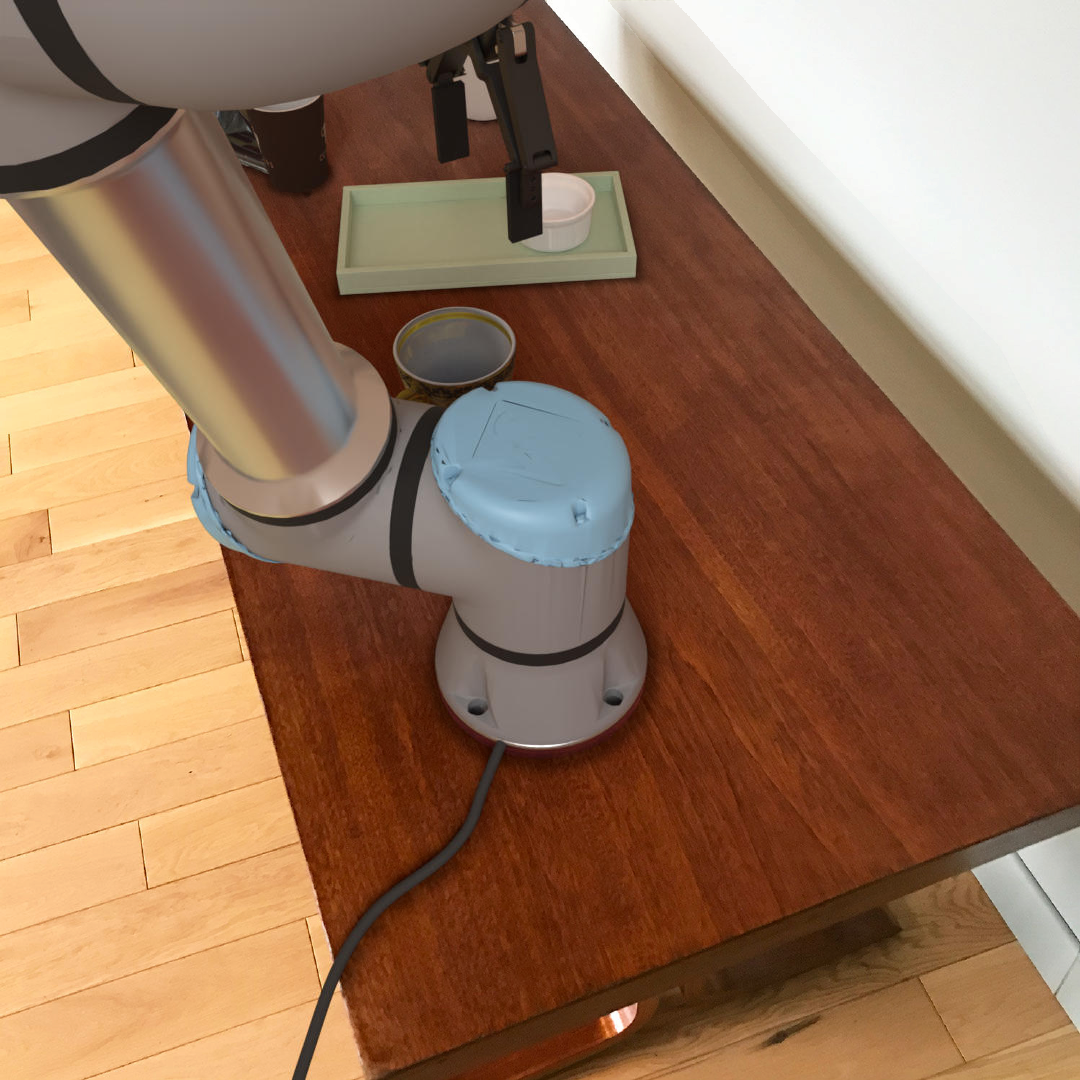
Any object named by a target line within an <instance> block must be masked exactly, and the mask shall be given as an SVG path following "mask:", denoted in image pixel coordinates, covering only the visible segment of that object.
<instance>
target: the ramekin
mask: <svg viewBox="0 0 1080 1080" xmlns="http://www.w3.org/2000/svg"><path fill="white" fill-rule="evenodd" d="M570 174H571V173H564V172H544V173H542V219H543V234H542V235H539V236H535V237H532V238H529V239H526V240H523V241H520V242H521V243H522V244H523V245H525V246H526V247H528V248H530V249H533V250H536V251H540V252H549V253H555V252H562V251H567V250H570V249H573V248H575V247H577V246H579V245H580V244H582V243H583V242H584V241H585V240H586V239H587V237H588V235H589V233H590V229H591V220H592V209H593V206H594V203H595V192H594V189H593V188H592V186H591V185H590V184H589V183H588V182H586V181H585V180H583V179H581V178H579V177H577V176H574V175H570Z"/></svg>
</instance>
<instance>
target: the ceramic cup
mask: <svg viewBox="0 0 1080 1080" xmlns="http://www.w3.org/2000/svg"><path fill="white" fill-rule="evenodd" d="M393 341H394V342H393V345H392V355H393V359H394V362H395V365H396V368H397V371H398V373H399V377H400V380H401V381H402V384H403V386H404V388H405V389H403V390H402V391H400V392H399V393H398V395H397V396H396V397H395V398H396V399H402V400H408V401H413V402H419V403H425V404H430V405H436V406H440V407H446V408H448V407H449V406H450V405H451V404H452V403H453V402H454V401H455V400H457V399H458V398H460V397H461V396H462V395H464V394H466V393H468V392H470V391H471V390H474V389H476V388H480V387H483V388H485V389H486V390H488V391H492V390H493V389H494V387H495V385H496V384H497V383H499V382H507V381H513V376H514V370H515V364H516V353H517V338H516V335H515V332H514V331H513V328H512V327H511V325H509V323H507V322H506V321H505V320H504V319H503V318H501V317H500V316H498V315H496V314H494V313H492V312H489V311H488V310H484V309H481V308H477V307H470V306H469V307H468V306H449V307H442V308H438V309H433V310H430V311H428V312H425V313H422V314H420V315H418V316H416V317H414V318H413V319H411V320H410V321H408V322H407V323H406V324H405V325H404V326H403V327H402V328H401V329H400V330H399V331H398V333H397V335H396V337H395V339H394V340H393Z"/></svg>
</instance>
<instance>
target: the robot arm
mask: <svg viewBox="0 0 1080 1080" xmlns="http://www.w3.org/2000/svg"><path fill="white" fill-rule="evenodd" d="M528 1H529V0H0V200H5V201H6V202H7V203H8V205H9V206H10V207H11V208H12V209H13V210H14V212H16V214H17V215H18V216H19V217H20V218H21V220H22V221H23V223H24V224H25V225H26V226H27V227H28V228H29V229H30V230H31V231H32V233H33V234H34V235H35V236H36V238H37V239H38V240H39V242H41V243H42V245H43V246H44V247H45V248H46V249H47V250H48V252H49V253H50V255H51V256H52V257H53V258H54V259H55V260H56V261H57V262H58V264H59V265H60V266H61V268H62V269H63V270H64V271H65V272H66V273H67V274H68V276H69V277H70V278H71V280H73V281H74V283H75V284H76V285H77V286H78V287H79V289H80V290H81V291H82V292H83V294H84V295H85V296H86V297H87V298H88V299H89V301H90V302H91V303H92V304H93V305H94V306H95V308H96V309H97V310H98V311H99V313H100V314H101V315H102V316H103V317H104V319H106V320H107V322H108V324H110V325H111V326H112V328H113V330H115V331H116V332H117V334H118V335H119V336H120V338H121V339H123V341H124V342H125V343H126V344H127V346H128V347H129V348H130V349H131V350H132V351H133V353H134V354H135V355H136V356H137V357H138V358H139V360H140V361H141V362H142V363H143V365H145V367H146V368H147V370H149V372H150V373H151V374H152V376H153V377H155V379H156V380H157V381H158V383H159V384H161V386H162V387H163V388H164V390H165V391H166V392H167V393H168V394H169V395H170V397H171V398H172V399H173V400H174V401H175V403H176V404H177V405H178V406H179V407H180V409H181V410H182V411H183V412H184V413H185V414H186V416H187V418H189V419H190V420H191V421H192V423H193V426H192V429H191V432H190V436H189V440H188V445H187V446H188V447H187V453H186V480H187V482H188V483H189V484H190V485H192V486H194V487H193V491H192V493H191V494H190V502H191V505H192V507H193V511H194V513H195V515H196V517H197V519H198V521H199V523H200V524H201V526H202V527H203V528H204V530H205V531H206V532H207V533H208V534H209V536H211V537H212V539H214V540H215V541H216V542H218V543H219V544H221V545H222V546H224V547H226V548H228V549H230V550H232V551H234V552H235V551H236V552H239V553H242V554H245V555H246V556H248V557H250V558H252V559H255V560H259V561H261V562H265V563H272V564H290V565H295V566H301V567H306V568H309V569H316V570H321V571H325V572H331V573H335V574H341V575H346V576H351V577H356V578H361V579H366V580H370V581H376V582H380V583H386V584H390V585H395V586H398V587H403V588H408V589H414V590H419V591H423V592H428V593H432V594H438V595H443V596H447V597H451V599H452V600H451V603H450V606H449V609H448V611H447V614H446V616H445V619H444V621H443V623H442V626H441V628H440V631H439V634H438V638H437V642H436V646H435V651H434V652H435V653H434V669H435V676H436V682H437V685H438V686H437V687H438V691H439V695H440V698H441V700H442V703H443V705H444V707H445V708H446V710H447V712H448V714H449V715H450V716H451V718H452V720H453V721H454V722H455V723H456V724H457V725H458V726H459V728H461V730H462V731H464V732H465V733H466V734H467V735H469V737H471V738H472V739H474V740H475V741H477V742H479V743H480V744H482V745H484V746H486V747H487V748H489V749H492V751H491V753H490V756H489V758H488V759H487V763H486V766H485V768H484V771H483V773H482V775H481V777H480V780H479V782H478V785H477V788H476V790H475V793H474V796H473V799H472V803H471V807H470V808H469V811H468V814H467V817H466V818H465V821H464V823H463V824H462V826H461V827H460V829H459V830H458V832H457V833H456V834H455V836H454V837H453V838H452V839H451V841H450V842H449V843H448V844H447V845H446V846H445V847H443V849H442V850H440V852H438V853H437V854H436V855H435V856H434V857H433V858H431V859H430V860H429V861H428V862H426V863H425V864H423V865H422V866H421V867H420V868H418V869H417V870H415V871H413V872H412V873H411V874H409V875H408V876H407V877H405V878H403V879H402V880H401V881H399V882H398V883H397V884H395V885H394V886H392V887H391V888H390V889H389V890H388V891H386V892H385V893H383V895H382V896H381V897H379V898H378V899H377V901H375V902H374V903H373V904H372V905H371V906H370V907H369V908H368V910H366V911H365V912H364V913H363V915H362V917H361V918H360V919H359V920H358V922H357V923H356V925H355V926H354V927H353V928H352V930H351V932H350V933H349V935H348V936H347V938H346V939H345V940H344V942H343V944H342V946H341V948H340V950H339V951H338V953H337V954H336V957H335V959H334V960H333V963H332V964H331V967H330V969H329V971H328V973H327V975H326V978H325V981H324V983H323V986H322V988H321V991H320V993H319V996H318V999H317V1001H316V1005H315V1007H314V1011H313V1014H312V1017H311V1020H310V1023H309V1025H308V1029H307V1032H306V1035H305V1038H304V1041H303V1043H302V1044H303V1045H302V1047H301V1050H300V1053H299V1055H298V1058H297V1062H296V1064H295V1068H294V1071H293V1074H292V1077H291V1080H306V1079H307V1076H308V1072H309V1070H310V1066H311V1063H312V1060H313V1057H314V1054H315V1052H316V1048H317V1045H318V1042H319V1039H320V1036H321V1033H322V1029H323V1027H324V1023H325V1020H326V1018H327V1015H328V1011H329V1008H330V1005H331V1003H332V1002H331V1001H332V1000H333V998H334V995H335V991H336V988H337V987H338V984H339V981H340V979H341V977H342V975H343V972H344V970H345V969H346V967H347V964H348V962H349V960H350V959H351V957H352V955H353V953H354V952H355V949H356V948H357V947H358V945H359V943H360V941H361V940H362V939H363V937H364V936H365V934H366V933H367V931H368V930H369V929H370V928H371V926H372V925H373V923H374V922H375V921H376V920H377V919H378V918H379V917H380V916H381V915H382V914H383V912H385V911H386V910H387V909H388V908H389V907H390V906H391V905H392V904H393V903H395V902H396V901H397V900H399V898H401V897H402V896H403V895H405V894H406V893H407V892H409V891H410V890H412V889H413V888H414V887H416V886H417V885H419V884H420V883H422V882H423V881H424V880H426V879H428V878H429V877H430V876H431V875H433V874H434V873H435V872H436V871H438V870H439V869H441V868H442V867H443V866H444V865H445V864H446V863H448V862H449V861H450V860H451V859H452V858H453V857H454V856H455V855H456V853H458V851H459V850H460V849H461V848H462V847H463V845H464V844H465V843H466V842H467V840H469V837H470V836H471V835H472V833H473V832H474V831H475V828H476V826H477V824H478V822H479V819H480V817H481V815H482V811H483V808H484V805H485V802H486V799H487V795H488V793H489V789H490V787H491V784H492V782H493V779H494V777H495V775H496V772H497V770H498V767H499V765H500V763H501V760H502V758H503V755H504V754H506V755H510V756H514V757H518V758H524V759H525V758H526V759H536V760H537V759H538V760H539V759H540V760H541V759H542V760H543V759H555V758H562V757H567V756H571V755H574V754H575V755H576V754H578V753H581V752H584V751H586V750H589V749H592V748H593V747H596V746H597V745H599V744H601V743H603V742H604V741H606V740H608V739H609V738H610V737H612V736H613V735H614V734H616V732H618V731H619V730H620V729H621V728H622V727H623V726H624V725H625V724H626V723H627V722H628V720H629V719H630V718H631V716H632V715H633V713H634V712H635V711H636V709H637V707H638V705H639V703H640V701H641V699H642V696H643V692H644V689H645V686H646V679H647V672H648V671H647V670H648V647H647V642H646V637H645V634H644V632H643V629H642V625H641V624H640V622H639V620H638V617H637V615H636V613H635V611H634V609H633V607H632V605H631V603H630V601H629V599H628V597H627V593H626V592H627V581H628V580H627V579H628V564H629V562H628V561H629V548H630V537H631V536H630V535H631V530H632V526H633V522H634V518H635V510H636V509H635V508H636V507H635V503H634V492H632V491H633V490H632V466H631V465H632V464H631V460H630V459H631V458H630V455H629V451H628V449H627V446H626V444H625V441H624V439H623V437H622V435H621V434H620V432H618V431H617V430H616V429H615V428H614V427H613V426H612V424H611V421H610V419H609V418H608V417H607V416H606V415H605V414H604V412H602V411H601V410H600V409H599V408H597V406H595V405H594V404H592V403H590V402H589V401H588V400H587V399H585V398H583V397H581V396H579V395H577V394H575V393H573V392H571V391H569V390H566V389H563V388H561V387H557V386H556V385H555V386H554V385H551V384H548V383H542V382H537V381H529V380H512V381H507V382H499V383H497V384H496V385H495V387H494V389H493V390H492V391H488V390H486V389H485V388H483V387H480V388H476V389H474V390H471V391H470V392H468V393H466V394H464V395H462V396H461V397H460V398H458V399H457V400H455V401H454V402H453V403H452V404H451V405H450V406H449V407H448V408H446V407H440V406H436V405H430V404H425V403H419V402H413V401H408V400H402V399H396V397H392V396H391V394H390V392H389V390H388V389H387V386H386V384H385V382H384V380H383V379H382V377H381V375H380V373H379V372H378V370H377V369H376V368H375V367H374V366H373V364H372V363H371V362H370V361H369V360H367V358H365V357H364V356H363V355H362V354H360V353H359V352H358V351H356V350H355V349H353V348H351V347H350V346H348V345H345V344H343V343H340V342H337V341H333V338H332V336H331V335H330V332H329V331H328V328H327V327H326V325H325V323H324V321H323V319H322V317H321V315H320V313H319V311H318V310H317V307H316V306H315V303H314V302H313V300H312V297H311V296H310V294H309V292H308V290H307V289H306V286H305V283H304V282H303V280H302V279H301V277H300V275H299V273H298V271H297V269H296V267H295V265H294V264H293V261H292V259H291V258H290V255H289V253H288V252H287V250H286V248H285V246H284V244H283V242H282V240H281V238H280V236H279V234H278V233H277V231H276V229H275V227H274V225H273V223H272V221H271V219H270V217H269V215H268V213H267V211H266V209H265V207H264V205H263V204H262V202H261V200H260V198H259V197H258V194H257V192H256V190H255V188H254V186H253V185H252V182H251V181H250V178H249V177H248V175H247V172H246V171H245V169H244V167H243V166H242V165H243V164H242V163H240V161H239V159H238V158H237V156H236V154H235V152H234V150H233V148H232V146H231V144H230V142H229V140H228V138H227V136H226V134H225V133H224V131H223V129H222V127H221V125H220V123H219V121H218V119H217V117H216V115H215V113H214V111H225V110H245V109H254V108H260V107H265V106H271V105H277V104H282V103H288V102H293V101H298V100H302V99H306V98H310V97H315V96H319V95H323V96H324V95H326V94H327V95H328V94H332V93H334V92H338V91H341V90H344V89H347V88H351V87H353V86H357V85H359V84H361V83H365V82H368V81H371V80H374V79H376V78H381V77H383V76H386V75H387V76H388V75H390V74H394V73H395V72H398V71H401V70H403V69H406V68H409V67H411V66H414V65H418V67H420V68H424V67H426V68H425V69H426V70H425V77H426V80H427V81H428V83H429V84H430V85H432V87H430V91H431V92H430V93H431V102H432V113H433V125H434V134H435V146H436V154H437V155H436V156H437V161H438V162H439V164H441V165H443V164H446V163H447V164H448V163H450V162H454V161H457V160H461V159H464V158H468V157H470V156H471V154H470V153H471V151H470V140H469V124H468V118H467V110H466V96H465V83H464V82H463V81H462V80H458V81H454V80H453V78H456V77H460V76H464V75H466V73H464V71H465V69H464V66H463V65H464V63H465V61H466V59H467V56H468V55H469V57H470V58H471V61H472V64H473V67H474V70H475V73H476V76H477V78H478V79H479V80H482V81H484V82H485V84H486V87H487V90H488V93H489V96H490V99H491V102H492V105H493V109H494V112H495V115H496V118H497V119H496V120H497V124H498V128H499V130H500V133H501V136H502V140H503V143H504V146H505V150H506V152H507V156H508V158H509V162H507V163H504V166H503V167H502V170H503V172H504V174H505V175H504V177H505V179H506V201H507V223H508V239H509V240H510V242H511V243H512V244H513V243H516V242H520V241H523V240H526V239H529V238H532V237H535V236H539V235H542V234H543V219H542V172H543V171H545V170H546V171H547V170H549V169H553V168H556V167H558V166H559V157H558V151H557V147H556V141H555V138H554V133H553V128H552V124H551V123H552V122H551V119H550V113H549V109H548V104H547V100H546V99H547V98H546V95H545V91H544V84H543V80H542V76H541V70H540V66H539V61H538V57H537V56H538V55H537V39H536V30H535V27H534V24H533V22H532V21H530V20H528V21H524V22H520V23H516V21H515V19H514V14H513V13H515V12H516V11H517V10H519V9H520V8H521V7H523V6H524V5H526V3H528ZM512 14H513V15H512ZM498 59H499V61H498V62H494V63H491V64H488V62H492V61H496V60H498Z"/></svg>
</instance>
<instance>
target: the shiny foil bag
mask: <svg viewBox="0 0 1080 1080" xmlns="http://www.w3.org/2000/svg"><path fill="white" fill-rule="evenodd" d="M214 113H215V115H216V117H217V119H218V121H219V123H220V125H221V127H222V129H223V131H224V133H225V134H226V136H227V138H228V140H229V142H230V144H231V146H232V148H233V150H234V152H235V154H236V156H237V158H238V159H239V161H240V163H241V165H243V166H245V167H250V168H252V169H255V170H257V171H261V172H263V173H265V174H268V171H267V168H266V165H265V162H264V160H263V157H262V154H261V151H260V149H259V146H258V143H257V140H256V137H255V135H254V132H253V129H252V126H251V123H250V121H249V118H248V115H247V112H246V110H225V111H214Z"/></svg>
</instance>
